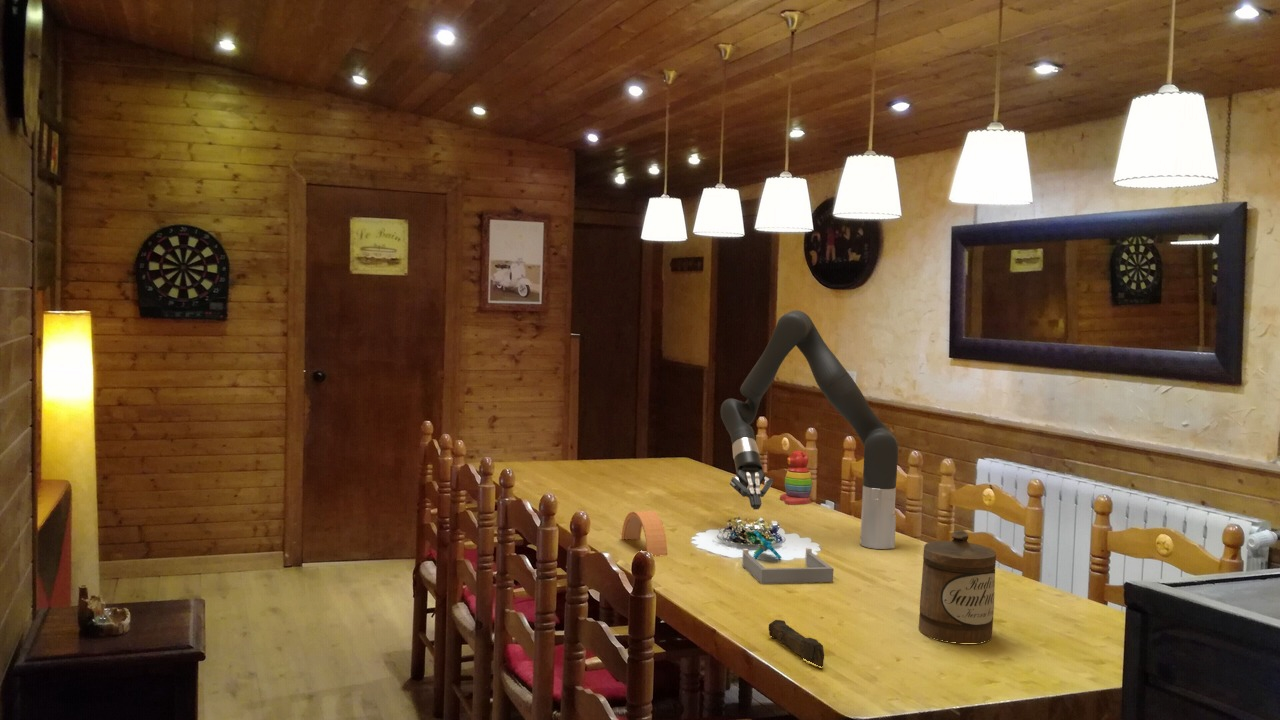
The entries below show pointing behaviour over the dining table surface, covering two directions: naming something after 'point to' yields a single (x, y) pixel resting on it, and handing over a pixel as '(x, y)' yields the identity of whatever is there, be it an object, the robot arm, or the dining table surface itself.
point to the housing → (789, 570)
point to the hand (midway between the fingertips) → (756, 507)
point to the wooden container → (957, 590)
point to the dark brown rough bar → (797, 642)
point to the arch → (646, 531)
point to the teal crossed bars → (764, 547)
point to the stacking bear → (797, 480)
